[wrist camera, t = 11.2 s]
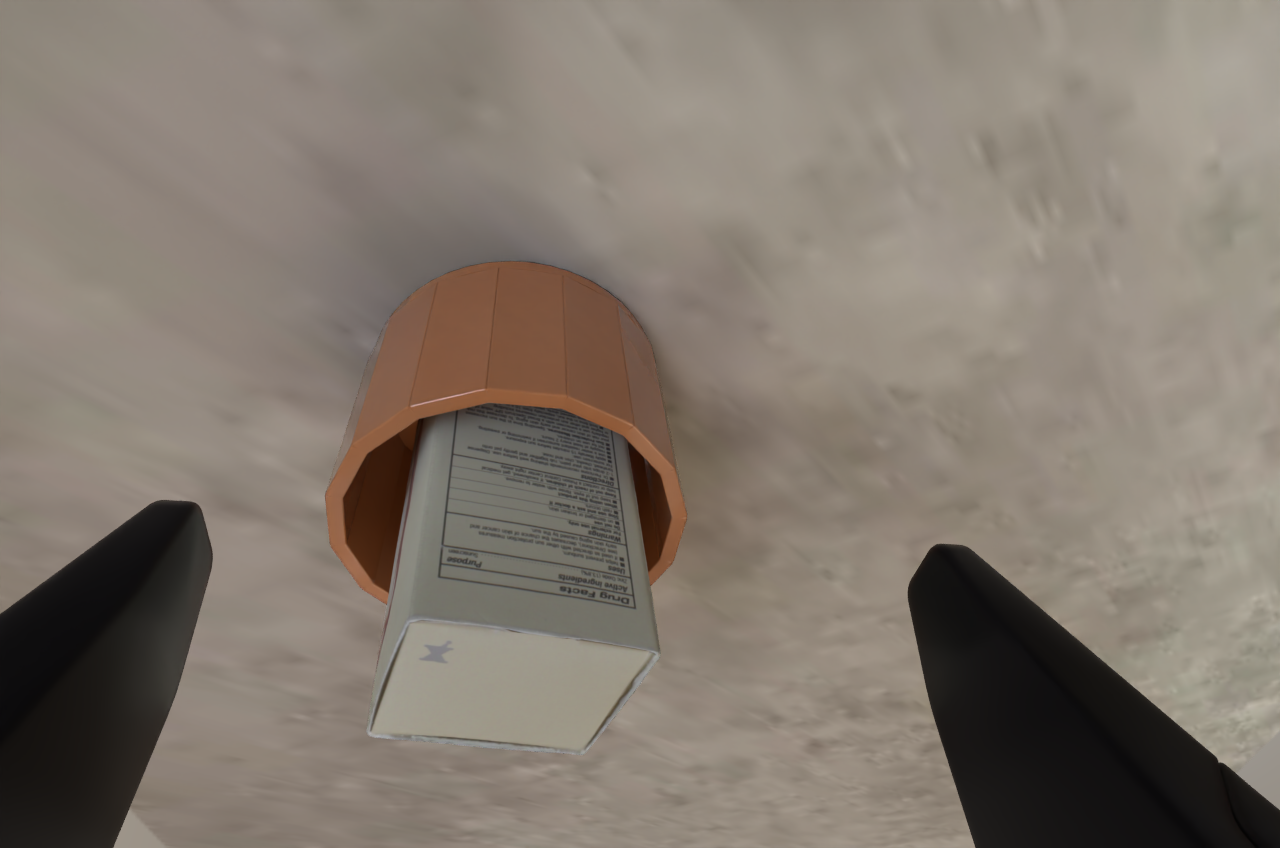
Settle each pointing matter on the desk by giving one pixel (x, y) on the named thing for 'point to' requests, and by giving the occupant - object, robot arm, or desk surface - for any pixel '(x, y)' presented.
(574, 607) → the medicine box
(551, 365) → the copper cup
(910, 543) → the desk surface
